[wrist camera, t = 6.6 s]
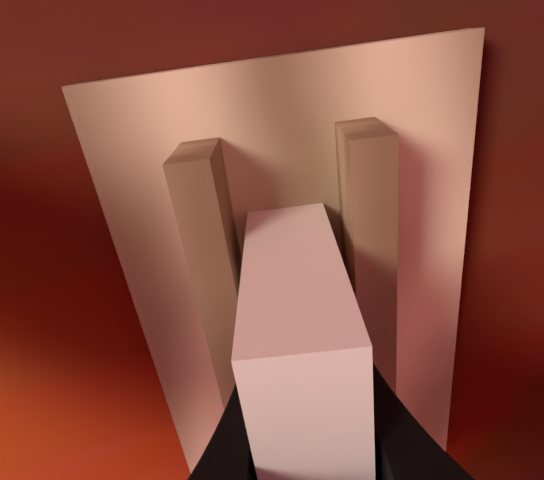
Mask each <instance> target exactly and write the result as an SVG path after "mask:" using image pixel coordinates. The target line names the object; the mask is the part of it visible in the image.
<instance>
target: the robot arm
mask: <svg viewBox="0 0 544 480" xmlns="http://www.w3.org/2000/svg"><path fill="white" fill-rule="evenodd" d="M373 398H374V439H375V480H475V479H474V478H472V477H471V476H470V475H469V474H468V473H467V472H466V471H465V470H464V469H463V468H462V467H461V466H459V465H458V464H457V463H456V462H455V461H454V460H453V459H452V458H451V457H450V456H449V455H448V454H447V453H446V452H445V451H444V450H443V449H442V448H441V447H440V446H439V445H438V444H437V442H436V441H435V440H434V439H433V438H432V437H431V436H430V435H429V434H428V433H427V432H426V430H425V429H424V428H423V427H422V426H421V425H420V424H419V423H418V421H417V420H416V419H415V418H414V417H413V416H412V414H411V413H410V412H409V411H408V409H407V408H406V407H405V406H404V404H403V403H402V402H401V401H400V399H399V398H398V397H397V396H396V394H395V393H394V392H393V390H392V389H391V388H390V386H389V385H388V384H387V382H386V381H385V379H384V378H383V376H382V375H381V374H380V372H379V370H378V369H377V367H376V366H375V364H374V363H373ZM188 480H258V479H257V475H256V471H255V466H254V462H253V457H252V453H251V448H250V444H249V439H248V435H247V430H246V426H245V421H244V417H243V412H242V408H241V404H240V399H239V395H238V390H237V386H236V383H235V386H234V388H233V391H232V394H231V396H230V398H229V401H228V403H227V406H226V408H225V410H224V412H223V414H222V417H221V419H220V421H219V423H218V425H217V427H216V429H215V431H214V433H213V435H212V437H211V439H210V441H209V443H208V445H207V447H206V449H205V450H204V452H203V454H202V456H201V458H200V460H199V461H198V463H197V465H196V466H195V468H194V470H193V471H192V473H191V475H190V476H189V478H188Z"/></svg>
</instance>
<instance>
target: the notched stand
mask: <svg viewBox="0 0 544 480" xmlns="http://www.w3.org/2000/svg"><path fill="white" fill-rule="evenodd" d="M484 31H485V28H468V29H461V30H454V31H447V32H439V33H432V34H425V35H418V36H411V37H404V38H397V39H389V40H382V41H375V42H368V43H361V44H354V45H347V46H339V47H332V48H325V49H318V50H311V51H304V52H297V53H289V54H282V55H275V56H268V57H261V58H254V59H247V60H239V61H232V62H225V63H218V64H211V65H204V66H197V67H190V68H182V69H175V70H168V71H161V72H154V73H147V74H140V75H132V76H125V77H118V78H111V79H104V80H97V81H90V82H82V83H75V84H71V85H67V86H63V87H62V90H63V93H64V96H65V99H66V102H67V105H68V108H69V111H70V114H71V117H72V120H73V123H74V126H75V129H76V132H77V135H78V138H79V141H80V144H81V147H82V150H83V153H84V156H85V159H86V162H87V165H88V168H89V171H90V174H91V177H92V180H93V183H94V186H95V189H96V192H97V195H98V198H99V201H100V204H101V207H102V210H103V213H104V216H105V219H106V222H107V225H108V228H109V231H110V234H111V237H112V240H113V243H114V246H115V249H116V252H117V255H118V258H119V261H120V264H121V267H122V270H123V273H124V275H125V278H126V281H127V284H128V287H129V290H130V293H131V296H132V299H133V302H134V305H135V308H136V311H137V314H138V317H139V320H140V323H141V326H142V329H143V332H144V335H145V338H146V341H147V344H148V347H149V350H150V353H151V356H152V359H153V362H154V365H155V368H156V371H157V374H158V377H159V380H160V383H161V386H162V389H163V392H164V395H165V398H166V401H167V404H168V407H169V410H170V413H171V416H172V419H173V422H174V425H175V428H176V431H177V434H178V437H179V440H180V443H181V446H182V449H183V452H184V455H185V458H186V461H187V464H188V467H189V470H190V473H192V471H193V470H194V468H195V466H196V465H197V463H198V461H199V460H200V458H201V456H202V454H203V452H204V450H205V449H206V447H207V445H208V443H209V441H210V439H211V437H212V435H213V433H214V431H215V429H216V427H217V425H218V423H219V421H220V419H221V417H222V414H223V412H224V410H225V408H226V406H227V403H228V401H229V398H230V396H231V394H232V391H233V388H234V386H235V383H236V381H235V377H234V372H233V368H232V363H231V358H232V349H233V339H234V330H235V321H236V312H237V303H238V294H239V285H240V276H241V267H242V258H243V249H244V240H245V231H246V222H247V213H248V212H253V211H261V210H270V209H278V208H286V207H294V206H302V205H310V204H318V203H323V205H324V208H325V211H326V214H327V217H328V220H329V222H330V225H331V228H332V231H333V234H334V237H335V240H336V243H337V246H338V249H339V251H340V254H341V257H342V260H343V263H344V266H345V269H346V272H347V275H348V278H349V280H350V283H351V286H352V289H353V292H354V295H355V298H356V301H357V304H358V307H359V309H360V312H361V315H362V318H363V321H364V324H365V327H366V330H367V333H368V336H369V338H370V341H371V344H372V357H373V363H374V364H375V366H376V367H377V369H378V370H379V372H380V374H381V375H382V376H383V378H384V379H385V381H386V382H387V384H388V385H389V386H390V388H391V389H392V390H393V392H394V393H395V394H396V396H397V397H398V398H399V399H400V401H401V402H402V403H403V404H404V406H405V407H406V408H407V409H408V411H409V412H410V413H411V414H412V416H413V417H414V418H415V419H416V420H417V421H418V423H419V424H420V425H421V426H422V427H423V428H424V429H425V430H426V432H427V433H428V434H429V435H430V436H431V437H432V438H433V439H434V440H435V441H436V442H437V444H438V445H439V446H440V447H441V448H442V449H443V450H444V451H445V452H446V444H447V433H448V423H449V412H450V401H451V390H452V379H453V368H454V357H455V346H456V335H457V325H458V314H459V303H460V292H461V281H462V270H463V259H464V248H465V238H466V227H467V216H468V205H469V194H470V183H471V172H472V161H473V151H474V140H475V129H476V118H477V107H478V96H479V85H480V74H481V63H482V53H483V42H484Z"/></svg>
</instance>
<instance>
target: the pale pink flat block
mask: <svg viewBox="0 0 544 480" xmlns="http://www.w3.org/2000/svg"><path fill="white" fill-rule="evenodd" d="M231 363H232V368H233V372H234V377H235V381H236V386H237V390H238V395H239V399H240V404H241V408H242V412H243V417H244V421H245V426H246V430H247V435H248V439H249V444H250V448H251V453H252V457H253V462H254V466H255V471H256V475H257V479H258V480H375V439H374V398H373V357H372V344H371V341H370V338H369V336H368V333H367V330H366V327H365V324H364V321H363V318H362V315H361V312H360V309H359V307H358V304H357V301H356V298H355V295H354V292H353V289H352V286H351V283H350V280H349V278H348V275H347V272H346V269H345V266H344V263H343V260H342V257H341V254H340V251H339V249H338V246H337V243H336V240H335V237H334V234H333V231H332V228H331V225H330V222H329V220H328V217H327V214H326V211H325V208H324V205H323V203H318V204H310V205H302V206H294V207H286V208H278V209H270V210H261V211H253V212H248V213H247V222H246V231H245V240H244V249H243V258H242V267H241V276H240V285H239V294H238V303H237V312H236V321H235V330H234V339H233V349H232V358H231Z"/></svg>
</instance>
